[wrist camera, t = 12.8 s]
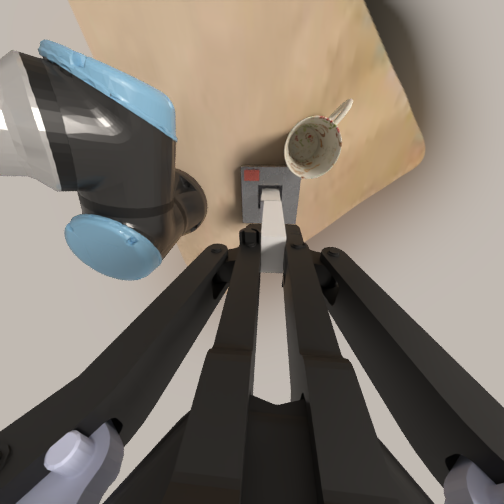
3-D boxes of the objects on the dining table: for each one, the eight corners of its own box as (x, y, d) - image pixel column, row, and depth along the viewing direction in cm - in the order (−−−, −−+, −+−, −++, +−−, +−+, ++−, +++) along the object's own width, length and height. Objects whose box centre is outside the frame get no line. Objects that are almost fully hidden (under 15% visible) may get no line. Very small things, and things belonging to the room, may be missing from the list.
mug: (272, 148, 38) (272, 154, 29) (322, 81, 32) (341, 65, 24) (302, 176, 40) (310, 189, 32) (354, 119, 34) (381, 116, 26)
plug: (262, 204, 44) (260, 220, 36) (262, 188, 42) (260, 202, 34) (278, 204, 44) (279, 221, 36) (279, 188, 42) (280, 202, 34)
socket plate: (243, 219, 46) (242, 223, 44) (241, 165, 40) (240, 167, 38) (294, 220, 46) (295, 225, 43) (300, 165, 39) (302, 167, 37)
